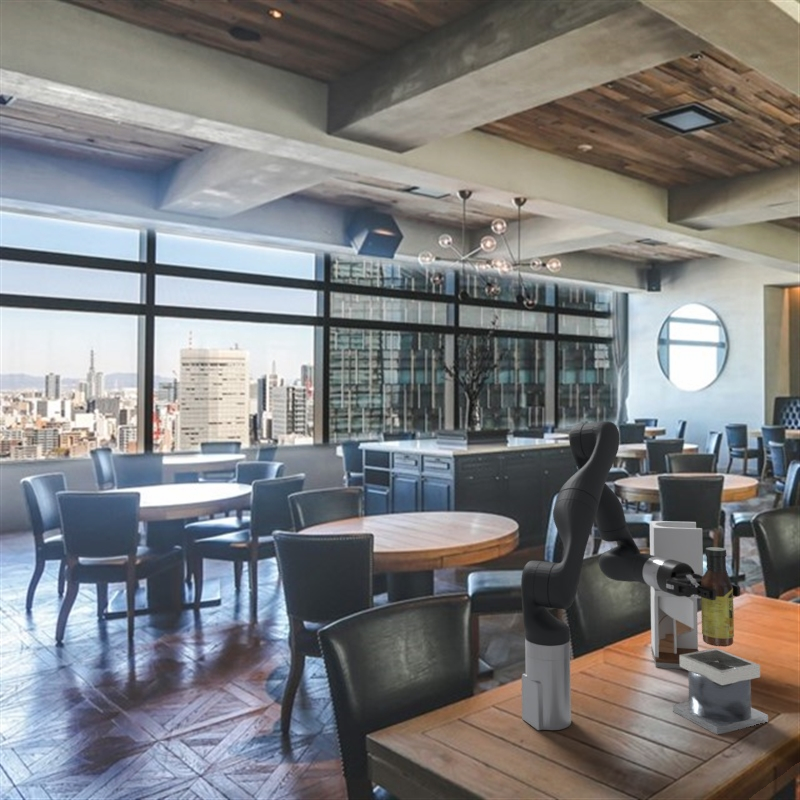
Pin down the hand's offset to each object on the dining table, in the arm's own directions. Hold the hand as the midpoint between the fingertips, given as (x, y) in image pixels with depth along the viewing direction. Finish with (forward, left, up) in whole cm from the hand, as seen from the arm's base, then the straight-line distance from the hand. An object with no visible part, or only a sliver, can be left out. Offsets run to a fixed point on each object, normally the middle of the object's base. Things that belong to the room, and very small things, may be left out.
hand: (726, 593), depth 151 cm
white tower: (+16, +31, -27) cm, 44 cm away
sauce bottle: (0, +2, -11) cm, 11 cm away
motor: (0, +2, -27) cm, 27 cm away
